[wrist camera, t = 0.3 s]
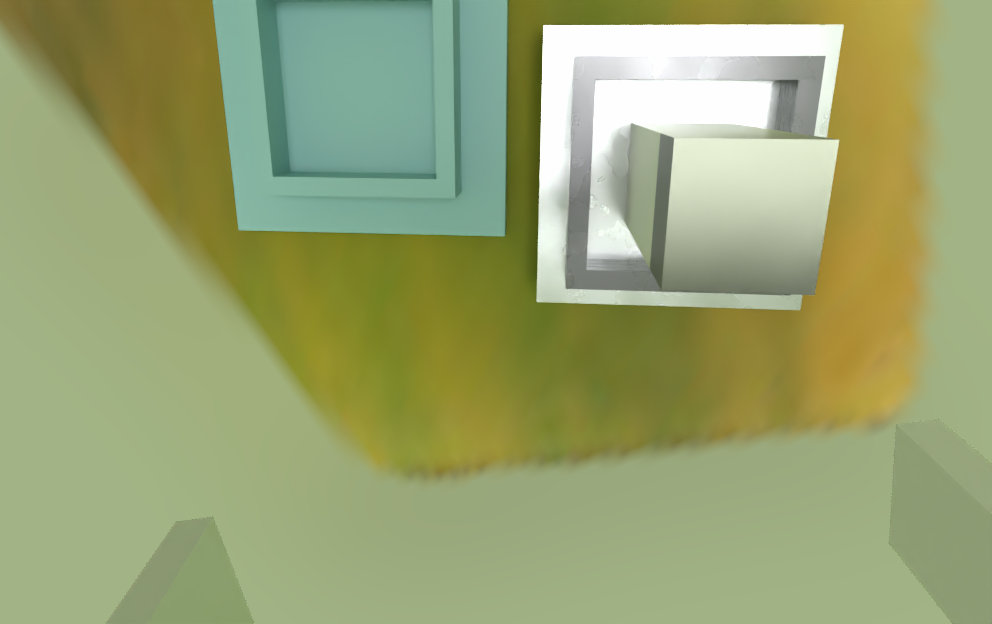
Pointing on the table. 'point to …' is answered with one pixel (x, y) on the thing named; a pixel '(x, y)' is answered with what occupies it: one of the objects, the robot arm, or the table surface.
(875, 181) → the table surface
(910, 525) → the robot arm
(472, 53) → the lower socket plate
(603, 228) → the upper socket stand
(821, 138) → the plug block
